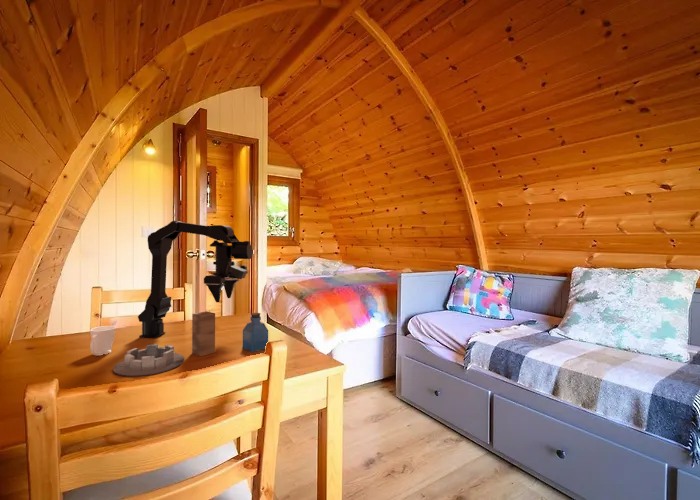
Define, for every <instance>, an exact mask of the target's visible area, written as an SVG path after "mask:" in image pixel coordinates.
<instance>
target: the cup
mask: <svg viewBox="0 0 700 500" xmlns="http://www.w3.org/2000/svg"><path fill="white" fill-rule="evenodd" d="M89 332H90V337H91V339H90V342H89V343H90V345H89V350H90V352H91V354H92V355H94V356H96V357H98V356H102V355H103V354H105V355H109V354H111V353H112V346H113V344H114V339H115V335H116V333H115V332H116V325H103V326H101V325H100V326H96V327H92V328H90V331H89ZM108 353H109V354H108Z"/></svg>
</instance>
